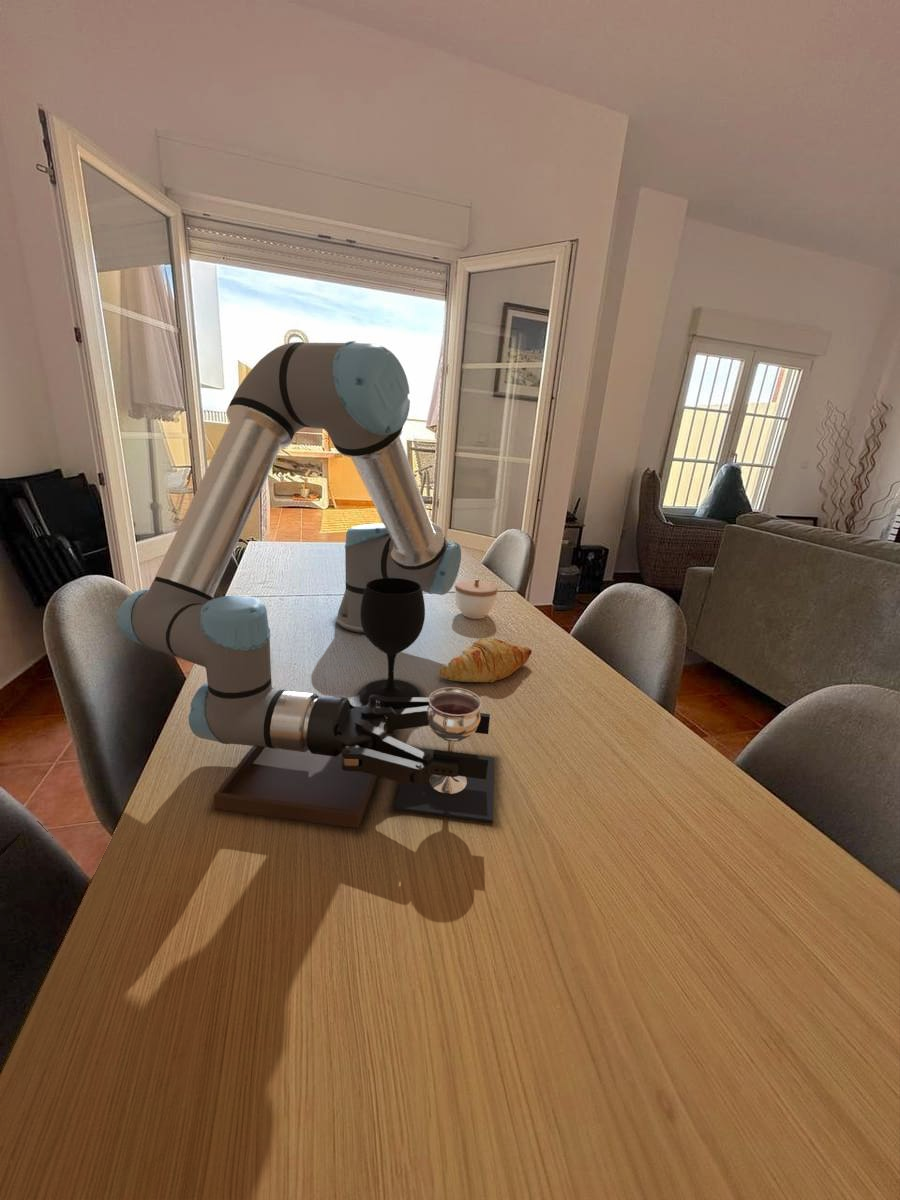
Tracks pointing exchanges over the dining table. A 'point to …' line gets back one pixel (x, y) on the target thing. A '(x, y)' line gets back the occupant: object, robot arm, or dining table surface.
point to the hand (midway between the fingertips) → (488, 744)
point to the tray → (296, 787)
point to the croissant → (486, 661)
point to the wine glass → (391, 628)
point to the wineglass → (452, 726)
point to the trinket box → (475, 597)
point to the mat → (451, 798)
